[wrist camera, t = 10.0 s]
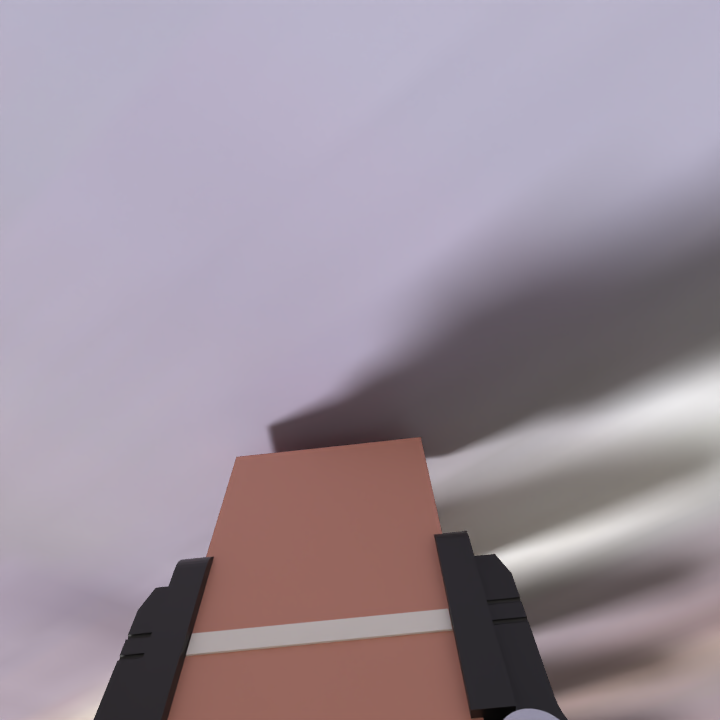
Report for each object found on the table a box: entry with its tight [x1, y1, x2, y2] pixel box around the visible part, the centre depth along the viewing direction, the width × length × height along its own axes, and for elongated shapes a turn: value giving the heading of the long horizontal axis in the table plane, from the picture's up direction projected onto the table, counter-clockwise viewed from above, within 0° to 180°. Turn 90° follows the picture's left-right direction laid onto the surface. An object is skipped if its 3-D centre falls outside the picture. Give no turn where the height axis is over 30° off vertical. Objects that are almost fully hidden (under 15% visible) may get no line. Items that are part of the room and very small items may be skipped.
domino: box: [167, 437, 484, 720], centre depth 10 cm, size 2×5×11 cm, turn 97°
